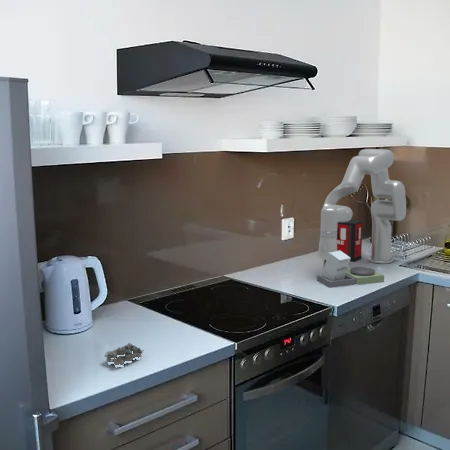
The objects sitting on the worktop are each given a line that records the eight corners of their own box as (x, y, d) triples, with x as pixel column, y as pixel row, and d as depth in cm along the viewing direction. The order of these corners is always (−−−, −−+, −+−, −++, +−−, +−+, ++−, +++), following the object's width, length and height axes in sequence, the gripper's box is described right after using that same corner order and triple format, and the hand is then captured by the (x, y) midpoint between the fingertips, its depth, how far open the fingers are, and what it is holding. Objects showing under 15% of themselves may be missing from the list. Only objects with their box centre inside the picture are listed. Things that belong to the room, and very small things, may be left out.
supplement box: (331, 284, 246) (339, 260, 241) (321, 275, 252) (328, 251, 246) (343, 281, 250) (351, 257, 245) (332, 273, 256) (340, 249, 250)
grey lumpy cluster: (117, 371, 164) (117, 358, 164) (102, 363, 169) (101, 351, 168) (145, 359, 172) (145, 346, 171) (130, 352, 177) (129, 340, 176)
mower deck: (367, 273, 263) (367, 265, 262) (384, 281, 250) (384, 272, 249) (315, 279, 255) (315, 270, 254) (330, 287, 242) (330, 278, 241)
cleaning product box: (361, 258, 292) (362, 221, 288) (354, 262, 285) (355, 223, 281) (332, 254, 301) (333, 218, 298) (324, 257, 294) (325, 220, 291)
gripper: (314, 232, 258) (312, 270, 262) (328, 238, 244) (327, 278, 248) (328, 231, 261) (327, 269, 264) (344, 237, 246) (342, 277, 250)
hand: (327, 273), depth 256 cm, fingers closed
